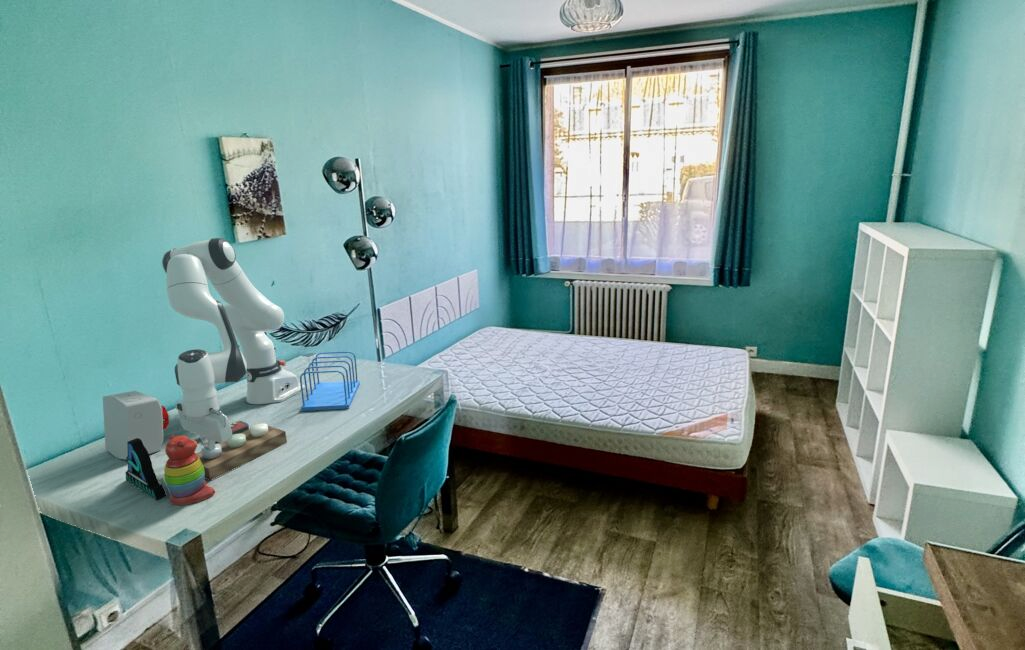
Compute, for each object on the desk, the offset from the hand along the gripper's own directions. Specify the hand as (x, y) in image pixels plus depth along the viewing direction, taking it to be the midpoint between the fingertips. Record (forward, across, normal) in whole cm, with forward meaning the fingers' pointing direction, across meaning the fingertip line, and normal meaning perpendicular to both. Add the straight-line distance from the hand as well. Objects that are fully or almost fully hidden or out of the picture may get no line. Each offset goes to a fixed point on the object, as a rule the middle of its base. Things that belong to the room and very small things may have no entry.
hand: (210, 448), depth 160 cm
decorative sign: (+7, +7, +16) cm, 19 cm away
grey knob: (+5, 0, 0) cm, 5 cm away
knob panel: (+7, 0, -8) cm, 11 cm away
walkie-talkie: (+7, +17, -12) cm, 22 cm away
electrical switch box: (+7, +33, +3) cm, 34 cm away
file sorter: (+7, +10, -55) cm, 56 cm away
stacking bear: (+7, -8, +12) cm, 16 cm away
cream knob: (+5, 0, -16) cm, 17 cm away
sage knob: (+5, 0, -8) cm, 10 cm away
